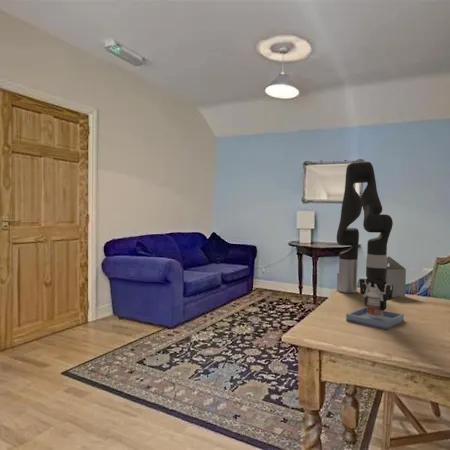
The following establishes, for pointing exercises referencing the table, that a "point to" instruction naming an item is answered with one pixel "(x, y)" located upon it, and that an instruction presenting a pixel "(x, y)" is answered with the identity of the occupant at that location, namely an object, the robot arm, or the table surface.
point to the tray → (375, 318)
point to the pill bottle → (373, 303)
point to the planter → (396, 277)
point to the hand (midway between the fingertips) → (375, 308)
